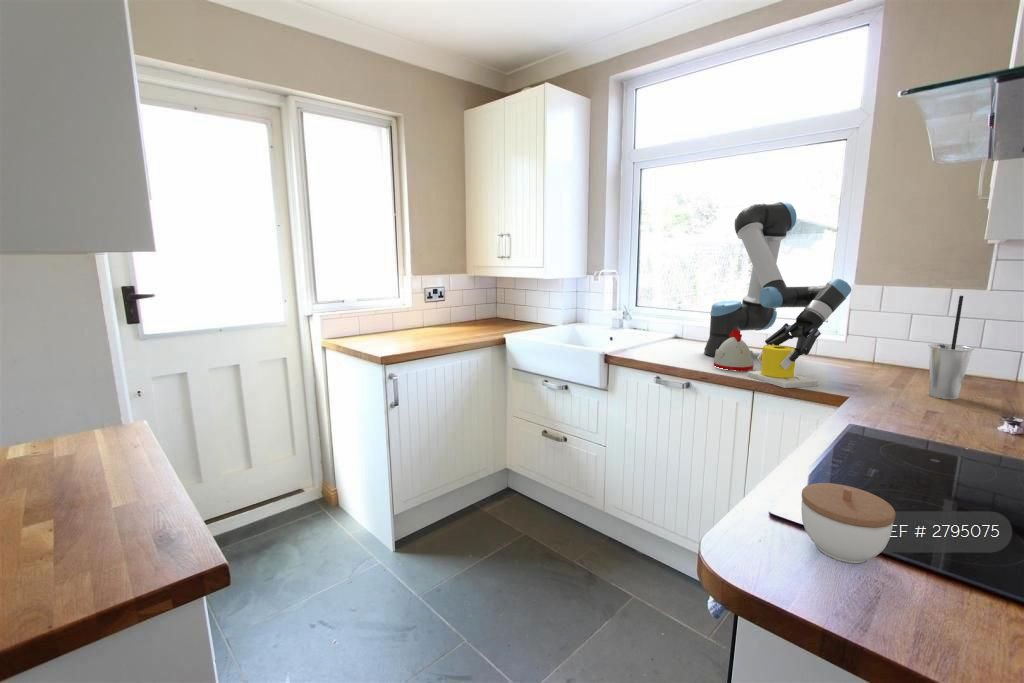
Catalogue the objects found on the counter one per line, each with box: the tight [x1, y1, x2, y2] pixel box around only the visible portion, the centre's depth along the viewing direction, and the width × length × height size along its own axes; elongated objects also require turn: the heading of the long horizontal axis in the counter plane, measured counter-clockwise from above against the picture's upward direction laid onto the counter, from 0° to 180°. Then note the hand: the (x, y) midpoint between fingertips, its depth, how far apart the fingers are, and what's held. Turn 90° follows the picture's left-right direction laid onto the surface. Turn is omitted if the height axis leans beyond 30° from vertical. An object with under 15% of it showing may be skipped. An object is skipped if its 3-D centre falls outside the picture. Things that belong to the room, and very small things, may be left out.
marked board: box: [747, 370, 819, 389], centre depth 161 cm, size 17×13×2 cm
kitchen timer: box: [713, 329, 754, 372], centre depth 181 cm, size 14×14×15 cm
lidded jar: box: [801, 482, 896, 564], centre depth 66 cm, size 11×11×9 cm
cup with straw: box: [927, 295, 975, 401], centre depth 139 cm, size 11×11×30 cm
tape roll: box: [760, 344, 796, 378], centre depth 162 cm, size 10×10×9 cm
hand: (770, 363), depth 162 cm, fingers closed on tape roll, 10 cm apart
